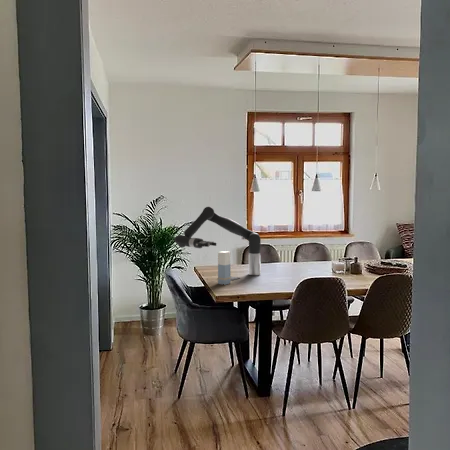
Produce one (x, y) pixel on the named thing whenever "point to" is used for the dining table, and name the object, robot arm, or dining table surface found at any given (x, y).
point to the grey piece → (224, 274)
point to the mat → (234, 278)
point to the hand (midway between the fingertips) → (212, 244)
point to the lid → (223, 258)
